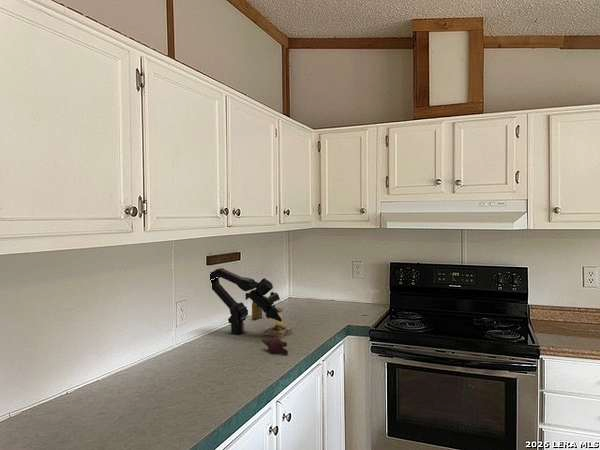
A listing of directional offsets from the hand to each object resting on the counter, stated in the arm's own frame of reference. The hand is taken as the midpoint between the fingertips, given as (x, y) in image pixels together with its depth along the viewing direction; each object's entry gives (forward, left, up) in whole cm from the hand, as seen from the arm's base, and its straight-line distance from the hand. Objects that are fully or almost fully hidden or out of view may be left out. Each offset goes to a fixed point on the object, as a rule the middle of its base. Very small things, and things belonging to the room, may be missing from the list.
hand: (281, 319), depth 219 cm
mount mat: (+5, +9, -7) cm, 13 cm away
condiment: (+20, +31, -8) cm, 38 cm away
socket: (-1, +1, -7) cm, 8 cm away
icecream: (-24, -13, -8) cm, 29 cm away
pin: (-1, +1, -6) cm, 6 cm away
